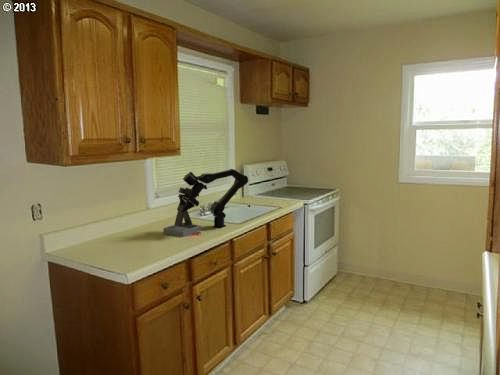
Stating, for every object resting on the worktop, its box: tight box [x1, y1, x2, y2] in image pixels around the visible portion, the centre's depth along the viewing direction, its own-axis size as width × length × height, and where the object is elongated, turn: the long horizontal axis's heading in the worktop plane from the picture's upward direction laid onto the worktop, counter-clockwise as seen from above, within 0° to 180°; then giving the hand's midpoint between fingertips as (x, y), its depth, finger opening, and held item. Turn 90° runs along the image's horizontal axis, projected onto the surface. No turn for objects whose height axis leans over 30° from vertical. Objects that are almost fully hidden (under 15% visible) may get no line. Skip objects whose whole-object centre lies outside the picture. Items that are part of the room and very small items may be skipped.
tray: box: [162, 223, 202, 237], centre depth 223 cm, size 16×16×3 cm
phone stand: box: [173, 204, 193, 227], centre depth 221 cm, size 9×6×12 cm, turn 129°
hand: (179, 211), depth 219 cm, fingers closed on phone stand, 6 cm apart
